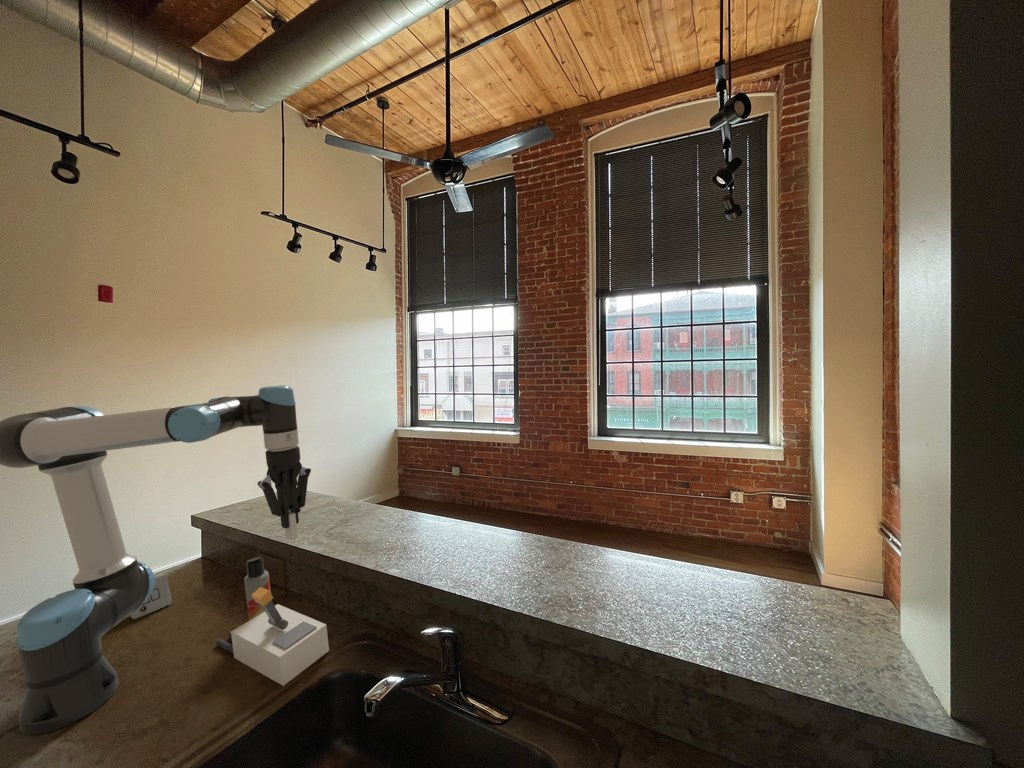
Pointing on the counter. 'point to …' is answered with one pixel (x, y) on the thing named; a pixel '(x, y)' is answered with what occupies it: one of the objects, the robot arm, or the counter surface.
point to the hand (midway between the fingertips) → (291, 538)
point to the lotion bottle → (255, 584)
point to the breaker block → (280, 644)
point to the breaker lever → (269, 608)
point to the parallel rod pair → (225, 644)
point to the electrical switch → (155, 598)
